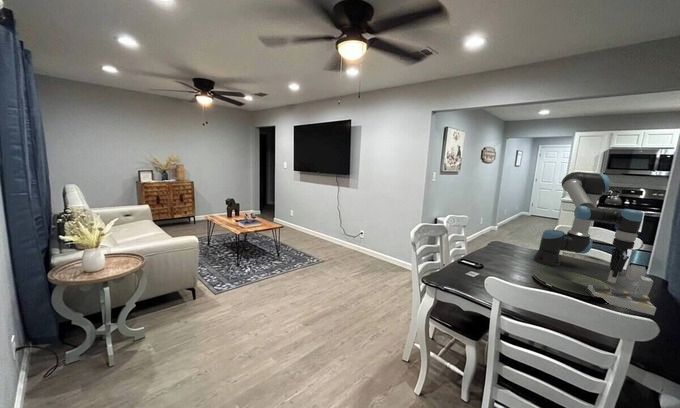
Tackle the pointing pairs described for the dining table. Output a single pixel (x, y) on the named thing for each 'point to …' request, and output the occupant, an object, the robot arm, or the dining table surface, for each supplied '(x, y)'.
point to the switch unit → (624, 301)
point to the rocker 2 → (620, 292)
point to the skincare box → (643, 286)
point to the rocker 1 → (601, 288)
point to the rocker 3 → (640, 297)
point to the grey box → (635, 273)
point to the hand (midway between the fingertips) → (611, 281)
